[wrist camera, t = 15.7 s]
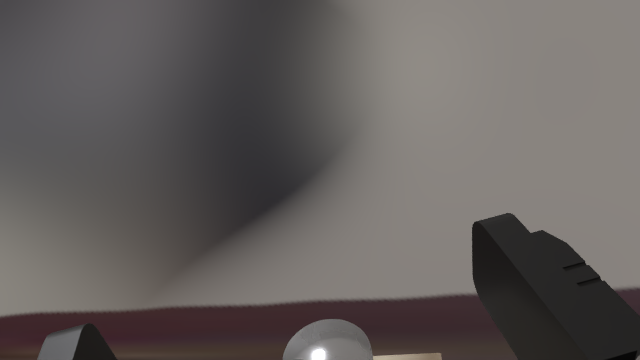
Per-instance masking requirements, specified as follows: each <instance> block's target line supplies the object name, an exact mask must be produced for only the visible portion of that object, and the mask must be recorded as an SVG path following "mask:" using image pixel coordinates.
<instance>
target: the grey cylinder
mask: <svg viewBox="0 0 640 360" xmlns="http://www.w3.org/2000/svg"><path fill="white" fill-rule="evenodd" d="M283 360H373V355H372V350H371V345H370V342H369V340H368V338H367V336H366V334H365V333H364V332H363V331H362V330H361V329H360V328H359V327H357V326H356V325H354V324H352V323H350V322H347V321H344V320H338V319H327V320H321V321H317V322H314V323H312V324H309V325H307V326H306V327H304V328H303V329H301V330H300V331H299V332H297V333H296V334H295V335H294V336H293V337H292V339H291V340H290V341H289V343H288V345H287V347H286V349H285V351H284V355H283Z"/></svg>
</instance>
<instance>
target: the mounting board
mask: <svg viewBox="0 0 640 360" xmlns="http://www.w3.org/2000/svg"><path fill="white" fill-rule="evenodd" d="M373 360H442V358H441V353H428V354H408V355H388V356H373Z"/></svg>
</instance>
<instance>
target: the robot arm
mask: <svg viewBox="0 0 640 360" xmlns="http://www.w3.org/2000/svg"><path fill="white" fill-rule="evenodd" d="M472 262H473V280H474V284H475V288H476V291H477V293H478V296H479V298H480V300H481V302H482V303H483V305H484V307H485V308H486V310H487V311H488V313H489V314H490V316H491V318H492V319H493V321H494V322H495V324H496V325H497V327H498V328H499V330H500V332H501V333H502V335H503V336H504V338H505V339H506V341H507V342H508V344H509V346H510V347H511V349H512V350H513V352H514V353H515V355H516V356H517V358H518V360H640V316H639V315H638V314H637V313H636V312H635V311H634V310H633V309H632V308H631V307H630V306H629V305H628V304H627V303H626V302H625V301H624V300H623V299H622V298H621V297H620V296H619V295H618V294H617V293H616V292H615V291H614V290H613V289H612V288H611V287H610V286H609V285H608V284H607V283H606V282H605V281H602V280H601V279H600V276H599V275H598V274H597V273H596V272H595V271H594V270H593V269H592V268H591V267H590V266H589V265H586V263H585V261H584V260H583V259H582V258H581V257H580V256H579V255H578V254H577V253H576V252H575V251H574V250H573V249H572V248H571V247H570V246H569V245H568V244H567V243H566V242H564V241H562V240H560V239H558V238H556V237H554V236H553V235H550V234H549V233H547V232H545V231H543V230H541V231H537V232H533V233H530V232H529V231H528V230H527V229H526V228H525V226H524V225H523V224H522V223H521V222H520V221H519V220H518V219H517V218H516V217H515V216H514V215H513V214H511V213H506V214H503V215H499V216H495V217H492V218H488V219H484V220H480V221H476V222H474V224H473V227H472ZM37 360H117V359H116V357H115V355H114V354H113V352H112V351H111V349H110V348H109V346H108V345H107V343H106V342H105V340H104V338H103V337H102V335H101V334H100V332H99V331H98V329H97V328H96V327H95V326H94V325H93V324H90V323H88V324H84V325H80V326H77V327H73V328H69V329H65V330H62V331H58V332H54V333H51V334H49V335H48V336H47V338H46V339H45V341H44V343H43V346H42V349H41V351H40V354H39V357H38V359H37Z"/></svg>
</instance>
